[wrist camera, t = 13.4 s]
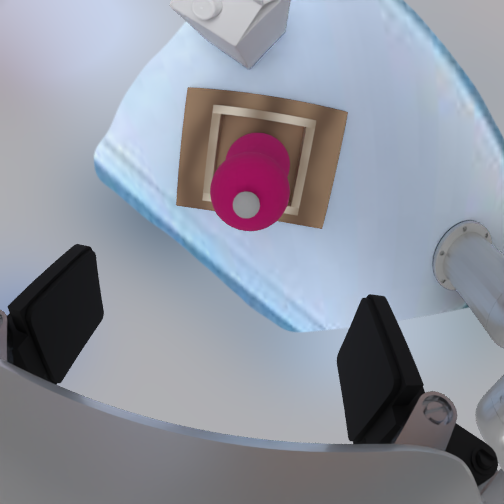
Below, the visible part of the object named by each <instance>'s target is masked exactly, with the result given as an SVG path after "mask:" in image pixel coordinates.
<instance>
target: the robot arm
mask: <svg viewBox="0 0 504 504" xmlns="http://www.w3.org/2000/svg"><path fill="white" fill-rule="evenodd" d="M433 271H434V275H435V277H436V279H437V281H438V282H439V283H440V285H442V286H443V287H444V288H446V289H448V290H457V292H458V293H459V294H460V296H461V297H462V298H463V299H464V301H465V302H466V303H467V305H468V306H469V307H470V309H471V310H472V312H473V313H474V314H475V316H476V317H477V318H478V320H479V321H480V323H481V324H482V325H483V327H484V328H485V330H486V331H487V332H488V334H489V336H490V337H491V338H492V340H493V341H494V342H495V343H496V344H497V345H498V346H500V347H502V348H504V254H502V253H501V252H500V251H499V250H498V249H497V248H496V247H494V246H493V245H492V239H491V236H490V233H489V232H488V230H487V229H486V228H485V227H484V226H483V225H481V224H480V223H478V222H475V221H465V222H462V223H459V224H457V225H456V226H454V227H453V228H451V229H450V230H449V231H448V232H447V233H446V234H445V236H444V237H443V238H442V240H441V241H440V243H439V245H438V247H437V249H436V251H435V255H434V260H433ZM8 309H9V312H10V314H9V315H8V316H7V315H6V314H5V312H3V311H2V310H0V504H504V375H503V376H502V377H501V378H500V379H499V380H498V381H497V382H496V383H495V384H494V385H493V386H492V387H491V389H490V390H489V391H488V392H487V393H486V394H485V395H484V396H483V397H482V399H481V400H480V402H479V403H478V406H477V408H476V421H477V426H478V428H479V431H480V433H481V435H482V437H483V439H484V440H485V442H486V443H485V442H483V441H482V440H480V439H479V438H477V437H476V436H474V435H473V434H471V433H469V432H468V431H467V430H465V429H464V428H462V427H461V426H459V425H458V424H456V420H457V411H456V408H455V406H454V404H453V402H452V401H451V400H450V399H449V398H448V397H447V396H445V395H444V394H441V393H439V392H434V391H431V392H426V393H425V392H424V389H423V382H422V379H421V377H420V375H419V372H418V369H417V367H416V364H415V362H414V360H413V357H412V355H411V352H410V350H409V348H408V345H407V343H406V341H405V339H404V336H403V334H402V332H401V329H400V327H399V325H398V323H397V321H396V318H395V316H394V314H393V312H392V310H391V308H390V305H389V303H388V301H387V299H386V298H385V297H384V296H378V295H371V294H369V295H368V296H367V297H366V298H362V300H361V302H360V304H359V307H358V309H357V311H356V314H355V316H354V319H353V321H352V323H351V326H350V328H349V330H348V333H347V335H346V337H345V339H344V342H343V344H342V346H341V348H340V351H339V353H338V356H337V367H338V373H339V379H340V384H341V391H342V397H343V403H344V409H345V417H346V424H347V431H348V438H349V440H350V441H353V444H321V443H299V442H285V441H274V440H265V439H264V440H263V439H256V438H248V437H241V436H234V435H228V434H221V433H216V432H210V431H205V430H200V429H195V428H190V427H186V426H181V425H177V424H172V423H168V422H164V421H160V420H156V419H153V418H149V417H146V416H142V415H139V414H135V413H132V412H129V411H125V410H122V409H119V408H116V407H113V406H110V405H107V404H104V403H101V402H98V401H96V400H93V399H90V398H88V397H85V396H82V395H79V394H77V393H75V392H72V391H70V390H67V389H65V388H62V387H60V386H58V385H56V384H57V383H61V382H62V380H63V379H64V377H65V375H66V374H67V372H68V371H69V369H70V368H71V366H72V364H73V363H74V361H75V360H76V358H77V357H78V355H79V353H80V352H81V350H82V349H83V347H84V346H85V344H86V343H87V341H88V340H89V338H90V337H91V335H92V334H93V332H94V331H95V329H96V328H97V326H98V325H99V324H100V322H101V321H102V319H103V314H104V311H103V304H102V299H101V293H100V285H99V278H98V271H97V262H96V255H95V252H93V251H92V249H91V247H89V246H84V245H79V244H76V245H74V246H73V247H72V248H71V249H69V250H68V251H67V252H66V253H65V254H63V255H62V256H61V257H60V258H59V259H58V260H56V261H55V262H54V263H53V264H52V265H51V266H50V267H49V268H47V269H46V270H45V271H44V272H43V273H42V274H41V275H40V276H39V277H38V278H36V279H35V280H34V281H33V282H32V283H31V284H30V285H29V286H28V287H27V288H26V289H25V290H24V291H23V292H22V293H21V294H20V295H19V296H18V297H17V298H16V299H15V300H14V301H13V302H12V303H11V304H10V305H9V306H8ZM498 463H499V464H500V466H501V468H502V469H500V470H499V471H498V470H497V466H498Z"/></svg>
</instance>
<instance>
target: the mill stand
mask: <svg viewBox="0 0 504 504" xmlns="http://www.w3.org/2000/svg"><path fill="white" fill-rule="evenodd" d="M347 114H348V112H345V111H341V110H337V109H333V108H329V107H324V106H320V105H315V104H310V103H306V102H301V101H295V100H290V99H284V98H278V97H272V96H266V95H259V94H252V93H244V92H236V91H227V90H216V89H204V88H189V87H188V89H187V97H186V105H185V113H184V121H183V130H182V140H181V150H180V161H179V173H178V187H177V202H176V205H177V206H184V207H191V208H198V209H204V210H211V211H215V210H214V208H213V205H212V202H211V196H210V186H211V182H212V178H213V176H214V174H215V172H216V170H217V169H218V167H219V166H220V165H221V164H222V163H223V162H224V161H225V159H226V155H227V153H228V150H229V149H230V147H231V145H232V144H233V143H234V142H235V141H236V140H237V139H239V138H240V137H242V136H244V135H247V134H250V133H265V134H268V135H271V136H273V137H275V138H276V139H278V140H279V141H280V142H281V143H282V144H283V145H284V147H285V148H286V150H287V152H288V155H289V159H290V169H289V174H288V177H287V178H288V181H289V186H290V197H289V202H288V205H287V207H286V209H285V212H284V213H283V214H282V216H281V217H280V218H279V219H278V220H277V221H280V222H286V223H292V224H297V225H303V226H309V227H314V228H320V229H322V227H323V223H324V219H325V215H326V211H327V207H328V203H329V199H330V194H331V190H332V186H333V181H334V177H335V172H336V168H337V163H338V159H339V154H340V149H341V145H342V140H343V135H344V130H345V125H346V120H347Z"/></svg>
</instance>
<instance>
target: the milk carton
mask: <svg viewBox="0 0 504 504" xmlns="http://www.w3.org/2000/svg"><path fill="white" fill-rule="evenodd" d="M289 6H290V0H172V1H171V3H170V7H171V8H172V9H173V10H174V11H175V12H177V13H178V14H179V15H180V16H181V17H182V18H183V19H184V20H185V21H187V22H188V23H189V24H190V25H191V26H192V27H193V28H194V29H195V30H196V31H197V32H198V33H200V34H201V35H202V36H203V37H204V38H205V39H206V40H207V41H208V42H210V43H211V44H213V45H214V46H216V47H217V48H219V49H220V50H222V51H223V52H225V53H226V54H228V55H229V56H230V57H232V58H233V59H235V60H236V61H238V62H239V63H240V64H242V65H243V66H245V67H246V68H247V69H251V67H252V66H253V65H254V64H255V63H256V62H257V61H258V60H259V59H260V58H261V57H262V56H263V54H264V53H265V52H266V51H267V50H268V49H269V48H270V47H271V46H272V45H273V44H274V43H275V42H276V41H277V40H278V39H279V38H280V37H281V36H282V35H283V34H284V33H285V32H286V25H287V19H288V13H289Z"/></svg>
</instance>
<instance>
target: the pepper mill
mask: <svg viewBox="0 0 504 504" xmlns="http://www.w3.org/2000/svg"><path fill="white" fill-rule="evenodd" d="M289 169H290V159H289V155H288V152H287V150H286V148H285V147H284V145H283V144H282V143H281V142H280V141H279V140H278V139H276V138H275V137H273V136H271V135H268V134H265V133H250V134H247V135H244V136H242V137H240V138H239V139H237V140H236V141H235V142H234V143H233V144H232V145H231V147H230V149H229V150H228V153H227V155H226V159H225V161H224V162H223V163H222V164H221V165H220V166H219V167H218V169H217V170H216V172H215V174H214V176H213V178H212V182H211V186H210V196H211V202H212V205H213V208H214V210H215V212H216V213H217V215H218V216H219V217H220V218H221V219H222V220H223V221H224V222H225V223H227V224H228V225H229V226H231V227H234V228H236V229H239V230H244V231H257V230H261V229H264V228H267V227H269V226H270V225H272V224H273V223H275V222H276V221H277V220H278V219H279V218H280V217H281V216H282V214H283V213H284V212H285V209H286V207H287V205H288V202H289V197H290V186H289V181H288V178H287V177H288V174H289Z"/></svg>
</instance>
